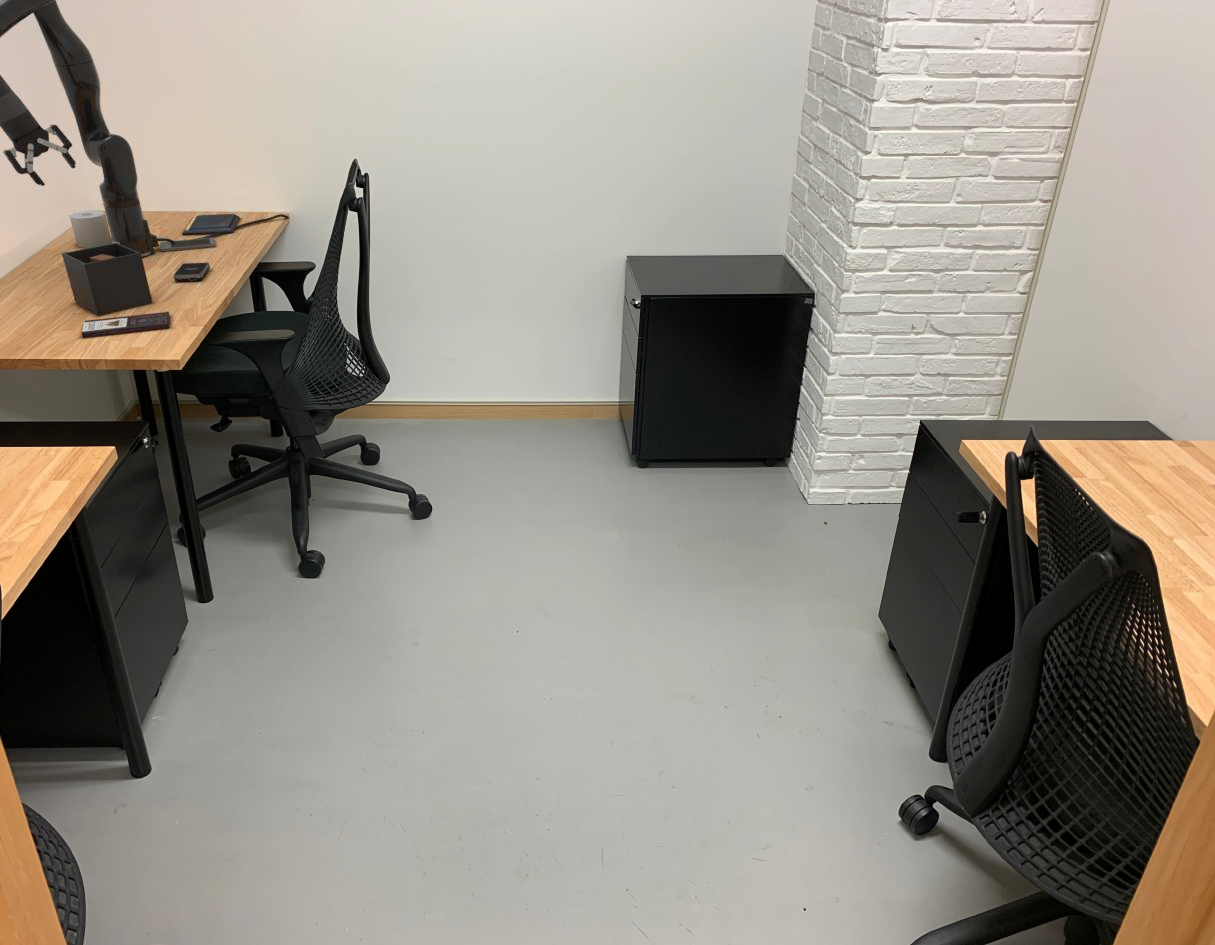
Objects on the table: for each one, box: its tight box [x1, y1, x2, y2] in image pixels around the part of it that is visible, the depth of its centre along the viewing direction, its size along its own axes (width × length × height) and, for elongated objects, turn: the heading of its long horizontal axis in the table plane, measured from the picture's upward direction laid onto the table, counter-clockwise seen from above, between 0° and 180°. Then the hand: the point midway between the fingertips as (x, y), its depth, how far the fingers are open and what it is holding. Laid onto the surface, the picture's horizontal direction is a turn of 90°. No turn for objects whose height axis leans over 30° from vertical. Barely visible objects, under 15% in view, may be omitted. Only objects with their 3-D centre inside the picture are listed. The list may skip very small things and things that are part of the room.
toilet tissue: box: [69, 210, 113, 249], centre depth 274 cm, size 9×13×9 cm
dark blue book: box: [182, 213, 240, 236], centre depth 293 cm, size 20×2×15 cm
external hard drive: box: [173, 262, 211, 283], centre depth 248 cm, size 7×11×2 cm, turn 9°
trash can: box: [61, 243, 154, 317], centre depth 226 cm, size 13×13×13 cm
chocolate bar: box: [81, 311, 170, 338], centre depth 214 cm, size 9×1×18 cm
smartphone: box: [159, 237, 216, 252], centre depth 274 cm, size 15×8×1 cm, turn 113°
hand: (58, 176), depth 231 cm, fingers open, 8 cm apart
